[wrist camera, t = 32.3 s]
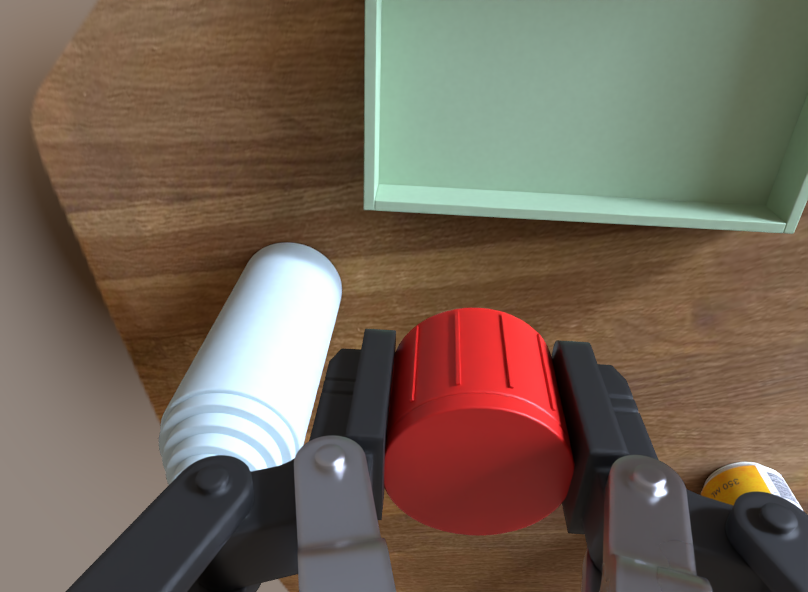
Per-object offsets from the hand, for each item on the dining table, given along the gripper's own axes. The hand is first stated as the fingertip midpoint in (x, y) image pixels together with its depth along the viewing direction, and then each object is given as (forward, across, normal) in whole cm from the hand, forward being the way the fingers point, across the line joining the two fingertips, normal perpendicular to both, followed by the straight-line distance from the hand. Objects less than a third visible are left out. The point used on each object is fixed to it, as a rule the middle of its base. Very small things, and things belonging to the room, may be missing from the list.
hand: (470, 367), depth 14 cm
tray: (+22, -7, -4) cm, 24 cm away
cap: (0, 0, 0) cm, 0 cm away
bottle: (+22, +10, +12) cm, 27 cm away
